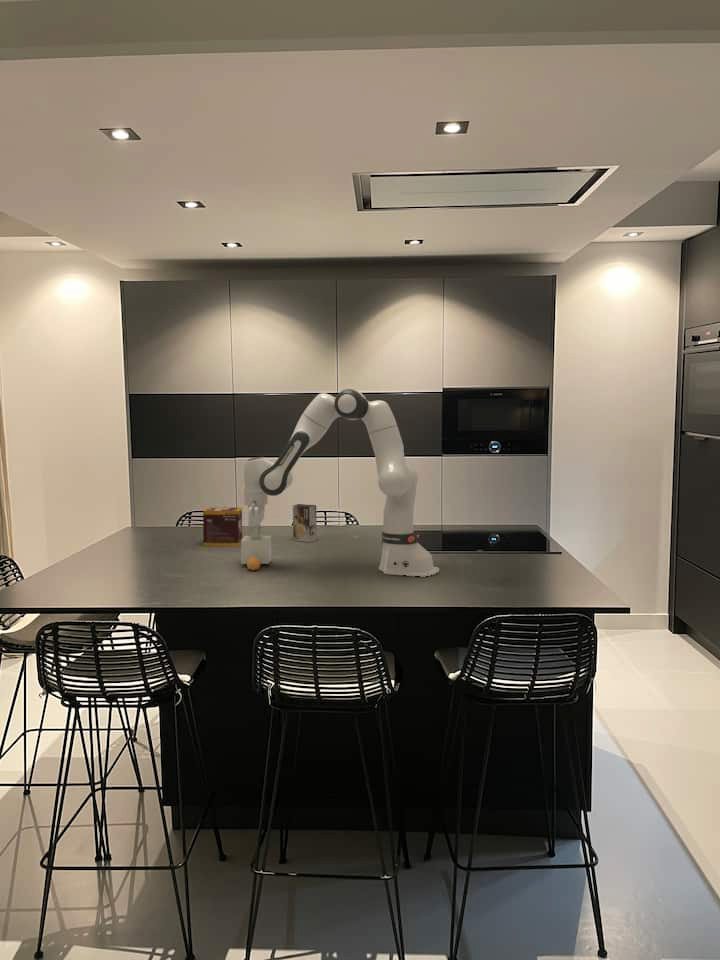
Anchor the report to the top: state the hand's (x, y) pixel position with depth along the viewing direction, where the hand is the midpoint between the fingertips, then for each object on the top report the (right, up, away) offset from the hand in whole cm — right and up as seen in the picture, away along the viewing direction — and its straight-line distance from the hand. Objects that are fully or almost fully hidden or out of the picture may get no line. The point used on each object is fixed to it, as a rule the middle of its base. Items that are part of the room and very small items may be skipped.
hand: (256, 535), depth 284 cm
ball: (0, -10, -9) cm, 13 cm away
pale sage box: (0, -10, +1) cm, 10 cm away
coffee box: (+15, -6, +50) cm, 52 cm away
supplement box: (-20, -7, +41) cm, 46 cm away
